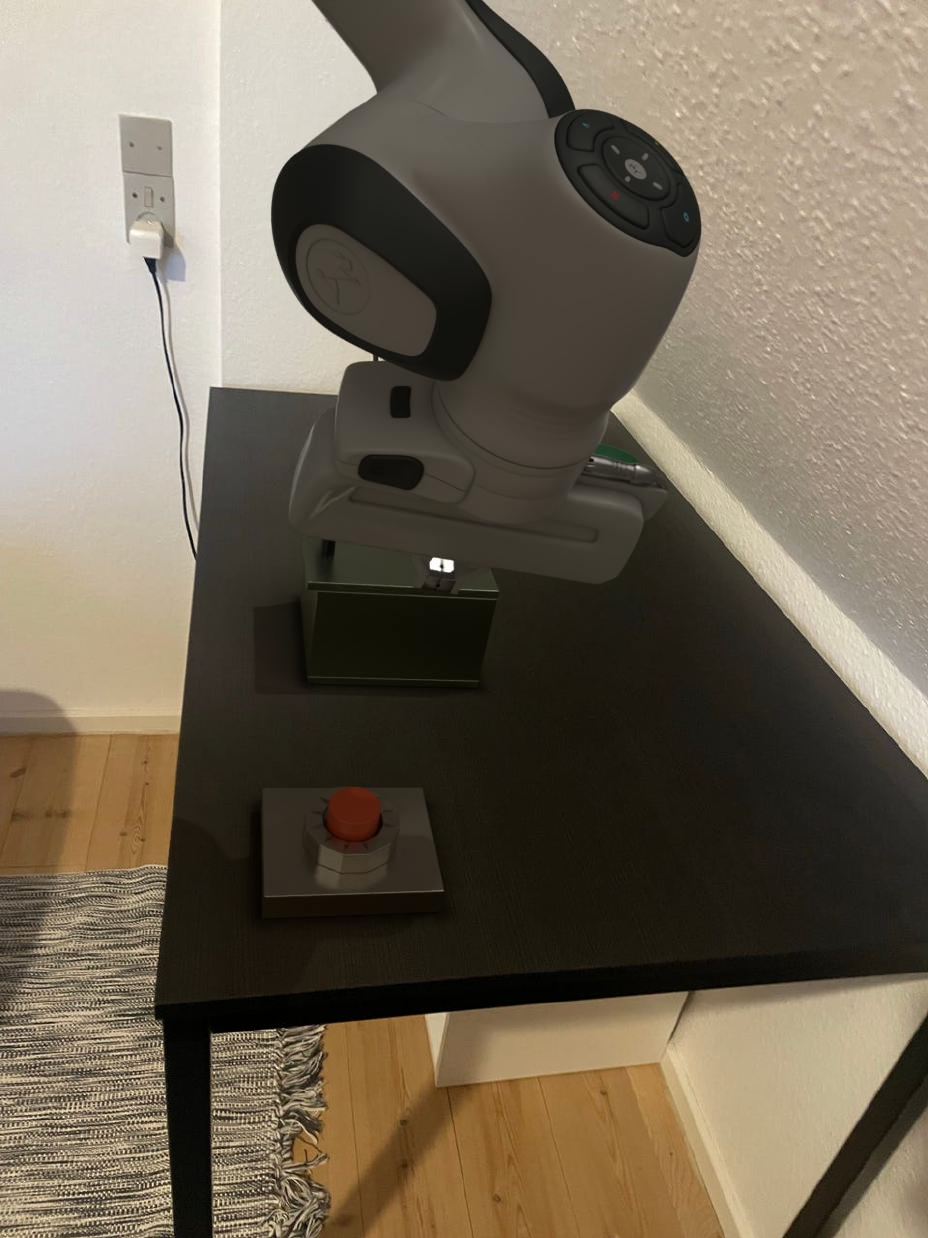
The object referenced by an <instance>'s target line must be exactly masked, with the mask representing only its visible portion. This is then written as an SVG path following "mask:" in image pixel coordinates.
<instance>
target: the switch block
mask: <svg viewBox="0 0 928 1238" xmlns="http://www.w3.org/2000/svg"><path fill="white" fill-rule="evenodd" d="M347 787H348V786H334V787H262V789H261V798H260V863H261V865H260V866H261V867H260V869H261V872H260V873H261V918H262V919H287V918H315V917H341V916H343V917H344V916H366V915H369V916H370V915H394V914H395V915H397V914H419V913H421V914H422V913H424V914H425V913H439V912H440V911H441V908H442V907H441V906H442V902H443V899H444V898H443V897H444V894H445V888H444V884H443V879H442V873H441V869H440V864H439V859H438V854H437V850H436V849H437V848H436V845H435V841H434V836H433V830H432V826H431V821H430V816H429V811H428V807H427V803H426V797H425V792H424V788H423V787H422V786H421V787H417V786H416V787H414V786H410V787H408V786H407V787H405V786H404V787H400V786H399V787H397V786H396V787H394V786H393V787H391V786H390V787H387V786H386V787H364V786H358V787H359V788H363V789H366V790H368V791H370V792H372V793H373V794H374V795H375V796H376V797H377V798H378V800H379V802H380V805H381V811H380V817H379V823H378V828H377V830H376V832H375V833H374V834H373V835H372V836H371V837H370V838H368V839H366V840H363V841H358V842H350V841H345V840H342V839H339V838H337V837H336V836H334V835H333V834H332V833H331V832H330V830H329V829H328V827H327V823H326V819H327V812H328V804H329V800H330V798H331V796H332V795H333V794H334V793H335V792H337V791H338V790H340V789H343V788H347Z"/></svg>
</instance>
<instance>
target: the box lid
mask: <svg viewBox="0 0 928 1238" xmlns="http://www.w3.org/2000/svg"><path fill="white" fill-rule="evenodd" d="M300 537H301V546H302V557H303V569H305V580H306V589H307V590H323V591H344V592H366V593H387V594H409V595H430V596H452V597H473V598H494V599H497V600H498V599H499V595H500V590H499V587H498V584H497V582H496V580H495V577H494V574H493V573H492V570H491V569H492V568H491V569H490V571H489V572H487V573H485V574H483V575H481V576H478V577H476V578H474V579H472V580H469V581H467V582H464V583H463V585H462V587H461V588H460V590H459V592H458V594H452V593H446V592H440V591H435V590H429V589H422V588H414V587H413V569H414V567H413V565H412V563H411V561H410V559H409V553H403V552H397V551H391V550H385V549H379V548H373V547H367V546H361V545H355V544H348V543H342V542H336V541H330V540H324V539H318V538H311V537H305V536H302V535H300Z"/></svg>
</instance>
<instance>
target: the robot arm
mask: <svg viewBox="0 0 928 1238" xmlns="http://www.w3.org/2000/svg"><path fill="white" fill-rule="evenodd" d="M310 1H311V2H312V4H313V5H314V6H315V8H316V9H317V10H318V11H319V13H320V14H321V15H322V17H324V19H325V21H327V23H328V24H329V25H330V26H331V28H332V29H333V31H334V32H335V33H336V34H337V36H338V37H339V38H340V39H341V41H342V42H343V43H344V44H345V46H346V47H347V48H348V49H349V51H350V52H351V53H352V55H353V56H354V57H355V59H357V61H358V62H359V63H360V65H361V66H362V67H363V69H364V70H365V72H366V73H367V74H368V76H369V77H370V79H371V82H372V84H373V87H374V89H375V94H374V95H373V96H371V97H370V98H369V99H368V100H366V101H365V102H362V103H361V104H359V105H356V106H355V107H354V108H352V109H350V110H349V111H348V112H346V113H345V114H343V115H342V116H341V117H339V118H338V119H336V120H335V121H334V122H333V123H331V124H330V125H328V126H327V127H326V128H324V129H323V130H322V131H321V132H320V133H319V134H318V135H315V136H314V137H313V138H312V139H311V140H310V141H309V142H307V143H306V144H305V145H304V146H303V147H302V148H301V149H300V150H299V151H297V152H296V153H294V154H293V155H292V156H291V157H290V158H289V159H288V160H287V161H286V162H285V163H284V165H283V166H282V167H281V169H280V172H279V173H278V175H277V177H276V180H275V182H274V184H273V185H274V186H273V190H272V195H271V203H270V226H271V227H270V228H271V235H272V241H273V246H274V251H275V254H276V258H277V260H278V263H279V267H280V270H281V272H282V273H283V277H284V279H285V280H286V283H287V284H288V286H289V288H290V290H291V291H292V294H293V295H294V296H295V298H296V299H297V302H298V303H299V304H300V305H301V306H302V308H303V309H304V310H305V311H306V312H307V314H308V315H309V316H311V317H312V319H314V320H315V321H316V322H317V323H318V324H319V325H321V326H322V327H323V328H324V329H325V330H327V331H328V332H330V333H331V334H333V335H335V336H336V337H338V338H339V339H340V340H343V341H345V342H346V343H349V344H350V345H352V346H355V347H356V348H359V349H360V350H362V351H364V352H366V353H368V354H371V355H373V356H375V357H377V358H379V359H381V360H363V361H356V362H352V363H349V365H347V366H346V367H345V369H344V371H343V374H342V377H341V381H340V385H339V389H338V392H337V399H336V403H335V404H333V405H331V406H330V407H328V408H326V409H325V410H324V411H323V412H322V413H321V414H320V415H319V416H318V417H317V419H316V420H315V422H314V423H313V425H312V427H311V429H310V431H309V433H308V435H307V438H306V439H305V442H304V445H303V446H302V449H301V452H300V455H299V457H298V460H297V463H296V466H295V469H294V473H293V479H292V482H291V489H290V496H289V503H288V513H287V514H288V515H287V518H288V523H289V525H290V526H291V527H292V528H293V529H294V530H295V532H296V533H297V534H299V535H300V536H301V535H302V536H305V537H311V538H318V539H324V540H330V541H336V542H342V543H348V544H355V545H361V546H367V547H373V548H379V549H385V550H391V551H397V552H403V553H409V559H410V561H411V563H412V565H413V567H414V569H413V587H414V588H422V589H429V590H435V591H440V592H446V593H452V594H458V592H459V590H460V588H461V587H462V585H463V583H464V582H467V581H469V580H472V579H474V578H476V577H478V576H481V575H483V574H485V573H487V572H489V571H490V569H492V568H495V569H500V570H506V571H512V572H518V573H525V574H531V575H536V576H543V577H547V578H554V579H561V580H566V581H571V582H578V583H584V584H589V585H601V584H604V583H606V582H609V581H611V580H614V579H616V578H617V577H618V576H619V574H621V572H622V571H623V569H624V567H625V566H626V564H627V563H628V561H629V559H630V557H631V555H632V553H633V552H634V549H635V548H636V545H637V544H638V541H639V539H640V537H641V533H642V531H643V527H644V523H645V522H647V521H649V520H650V519H652V518H653V517H654V516H655V515H656V514H657V512H658V511H659V510H660V508H661V507H662V506H663V505H664V503H665V502H666V500H667V498H668V494H669V486H668V483H667V481H666V479H664V478H663V477H662V476H661V475H658V474H657V471H656V469H655V468H654V467H652V466H650V465H647V464H645V463H641V464H640V463H625V462H621V461H618V460H615V459H612V458H609V457H606V456H601V455H596V454H593V453H594V452H595V450H596V448H597V447H598V445H599V444H600V443H602V439H603V438H604V436H605V433H606V430H607V427H608V423H609V419H610V412H611V410H612V408H613V406H615V405H616V404H617V403H619V401H621V400H622V399H623V398H625V397H626V396H627V394H629V393H630V392H631V390H632V389H633V388H634V387H635V386H636V385H637V383H638V381H639V380H640V378H641V377H642V375H643V373H644V372H645V371H646V369H647V367H648V365H649V364H650V362H651V360H652V358H653V356H654V355H655V354H656V352H657V349H658V348H659V346H660V344H661V342H662V341H663V339H664V337H665V335H666V333H667V332H668V330H669V328H670V326H671V324H672V322H673V320H674V318H675V316H676V314H677V312H678V309H679V308H680V306H681V303H682V302H683V299H684V296H685V294H686V293H687V290H688V287H689V285H690V282H691V279H692V276H693V274H694V271H695V268H696V265H697V261H698V257H699V252H700V247H701V240H702V217H701V210H700V206H699V202H698V199H697V196H696V194H695V190H694V188H693V186H692V184H691V182H690V181H689V179H688V177H687V176H686V174H685V172H684V170H683V168H682V167H681V165H680V164H679V163H678V161H677V160H676V159H675V158H674V157H673V155H672V154H671V153H670V152H669V150H668V149H666V147H665V146H663V144H662V143H660V142H659V141H658V139H656V138H654V137H653V136H652V135H651V134H650V133H648V132H647V131H646V130H644V129H643V128H641V127H640V126H638V125H636V124H635V123H633V122H631V121H629V120H627V119H624V118H623V117H620V116H618V115H616V114H613V113H610V112H607V111H604V110H600V109H594V108H577V109H576V105H575V103H574V99H573V98H572V95H571V93H570V89H569V88H568V86H567V83H566V82H565V80H564V79H563V76H562V75H561V74H560V72H559V70H557V68H556V67H555V65H554V64H553V63H552V62H551V60H550V59H549V58H548V57H547V56H546V54H544V52H542V51H541V50H540V49H539V47H537V45H535V44H534V43H533V42H532V41H530V40H529V39H528V38H527V37H526V36H525V35H524V34H522V33H521V32H520V31H519V30H517V29H516V28H515V27H513V26H512V25H511V24H510V23H508V22H507V21H506V20H505V19H504V18H502V17H501V16H500V15H499V14H498V13H496V11H494V10H493V9H492V8H491V7H490V6H489V5H488V4H487V3H486V2H485V1H484V0H310Z"/></svg>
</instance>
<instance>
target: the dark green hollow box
mask: <svg viewBox="0 0 928 1238" xmlns="http://www.w3.org/2000/svg"><path fill="white" fill-rule="evenodd" d="M497 602H498V598H497V599H494V598H473V597H452V596H430V595H409V594H387V593H366V592H344V591H323V590H307V589H306V580H305V569H304V568H303V571H302V580H301V591H300V612H301V623H302V636H303V646H304V647H303V648H304V659H305V661H304V662H305V673H306V684H309V685H337V686H338V685H339V686H340V685H343V686H383V687H384V686H386V687H387V686H389V687H422V688H423V687H425V688H427V687H429V688H430V687H431V688H467V689H469V688H471V689H477V688H478V686H479V681H480V676H481V673H482V668H483V665H484V660H485V655H486V651H487V646H488V641H489V637H490V633H491V629H492V624H493V620H494V616H495V612H496V607H497Z"/></svg>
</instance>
